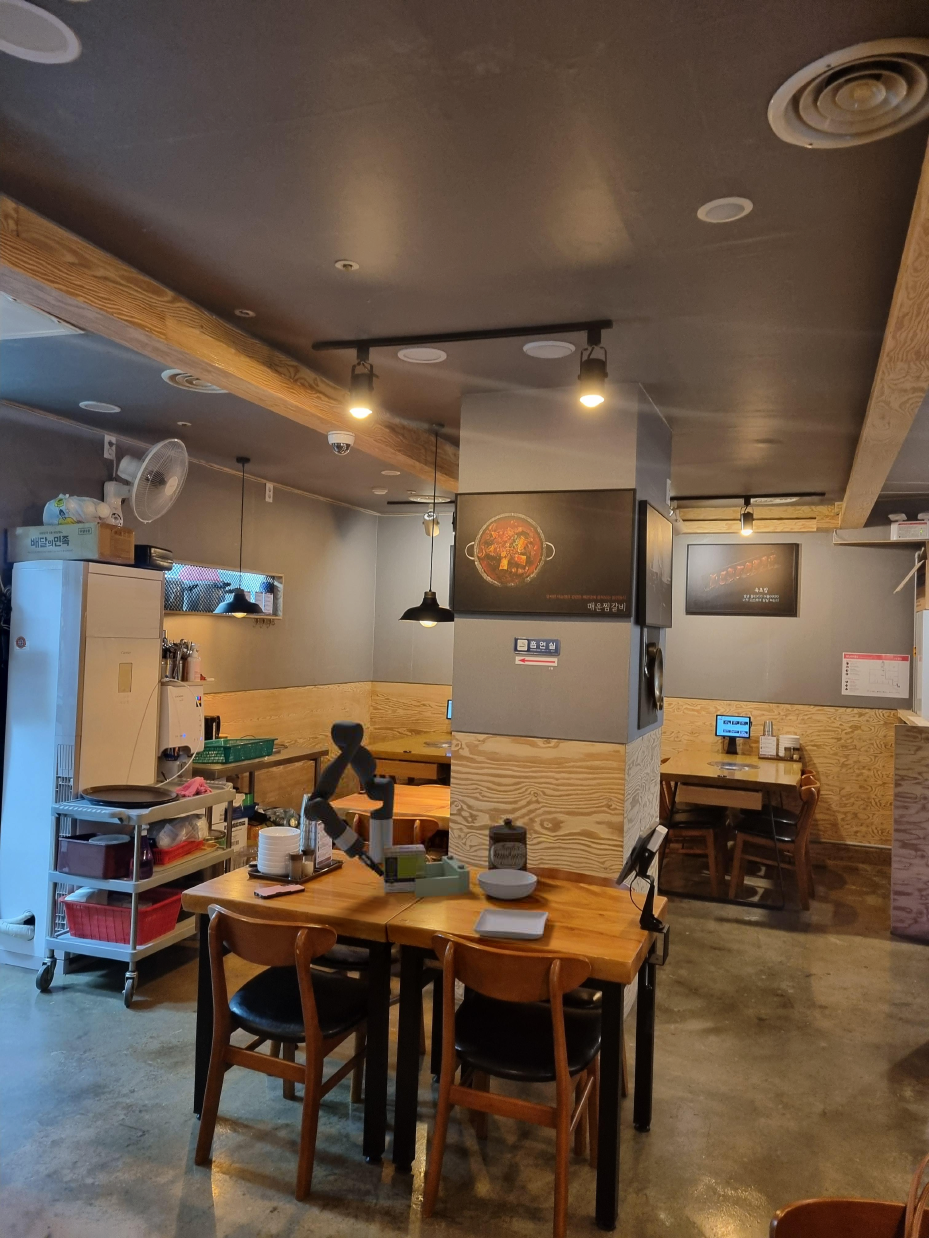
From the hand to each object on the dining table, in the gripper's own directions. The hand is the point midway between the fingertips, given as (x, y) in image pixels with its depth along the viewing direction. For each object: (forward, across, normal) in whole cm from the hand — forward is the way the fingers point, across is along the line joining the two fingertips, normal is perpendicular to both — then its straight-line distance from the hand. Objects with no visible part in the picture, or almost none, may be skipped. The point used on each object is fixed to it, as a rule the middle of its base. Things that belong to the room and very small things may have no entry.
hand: (382, 874), depth 303 cm
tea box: (+10, +1, -2) cm, 10 cm away
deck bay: (+18, 0, -10) cm, 20 cm away
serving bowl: (+33, -17, -25) cm, 45 cm away
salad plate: (+26, -51, -17) cm, 60 cm away
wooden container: (+39, +7, -31) cm, 51 cm away
